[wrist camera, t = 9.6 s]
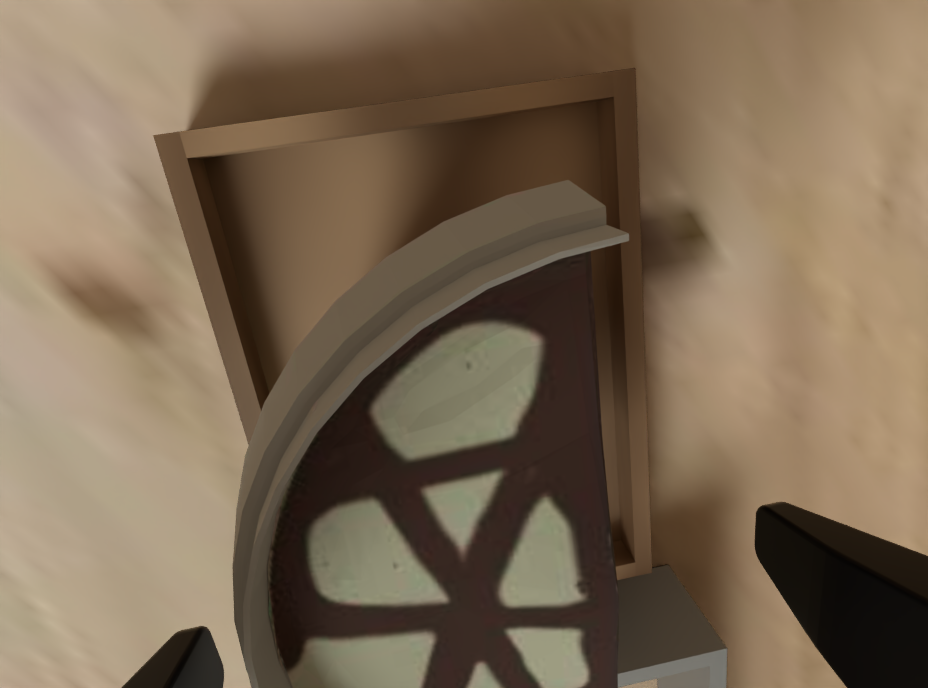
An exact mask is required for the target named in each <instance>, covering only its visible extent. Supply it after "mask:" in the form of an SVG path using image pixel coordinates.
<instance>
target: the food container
mask: <svg viewBox="0 0 928 688" xmlns="http://www.w3.org/2000/svg"><path fill="white" fill-rule="evenodd" d="M627 241H629V233H627V232H624V231H621V230H619V229H616V228H614V227H611V226H608V225H606V206H605V205H603V204H602V203H601V202H599V201H598V200H596V199H595V198H593V197H592V196H591V195H589V194H588V193H586V192H585V191H584V190H582V189H581V188H579V187H578V186H577V185H575V184H574V183H572V182H571V181H569V180H565V181H561V182H557V183H553V184H549V185H545V186H541V187H537V188H533V189H529V190H525V191H521V192H517V193H513V194H509V195H506V196H503V197H501V198H499V199H496V200H494V201H492V202H489V203H487V204H484V205H482V206H480V207H477V208H475V209H472V210H470V211H468V212H465V213H463V214H460V215H458V216H456V217H453V218H451V219H449V220H446V221H444V222H442V223H440V224H439V225H437V226H436V227H434V228H432V229H431V230H429V231H428V232H426V233H424V234H423V235H421V236H420V237H418V238H416V239H415V240H413V241H411V242H410V243H408V244H407V245H405V246H403V247H402V248H400V249H399V250H397V251H395V252H394V253H392V254H390V255H389V256H387V257H386V258H385V259H383V260H382V261H381V262H380V263H379V264H378V265H376V266H375V267H374V268H373V269H372V270H371V271H369V272H368V273H367V274H366V275H365V276H364V277H363V278H361V279H360V280H359V281H358V282H357V283H356V284H354V285H353V286H352V287H351V288H350V289H349V290H348V291H346V292H345V293H344V294H343V295H342V296H341V297H339V298H338V299H337V300H336V301H335V302H334V303H333V305H332V306H331V307H330V308H329V309H328V311H327V312H326V313H325V314H324V315H323V317H322V318H321V319H320V320H319V321H318V323H317V324H316V325H315V326H314V327H313V329H312V330H311V331H310V332H309V333H308V335H307V336H306V337H305V338H304V339H303V341H302V342H301V343H300V344H299V345H298V347H297V348H296V349H295V350H294V352H293V354H292V356H291V357H290V359H289V361H288V362H287V364H286V366H285V368H284V369H283V371H282V373H281V375H280V376H279V378H278V380H277V382H276V383H275V385H274V387H273V388H272V390H271V392H270V394H269V395H268V397H267V399H266V401H265V402H264V405H263V408H262V411H261V413H260V416H259V419H258V422H257V424H256V427H255V430H254V433H253V436H252V438H251V441H250V444H249V447H248V449H247V452H246V455H245V460H244V466H243V472H242V478H241V485H240V491H239V497H238V504H237V511H236V526H235V541H234V556H233V591H234V621H235V625H236V630H237V634H238V638H239V642H240V646H241V650H242V654H243V658H244V662H245V666H246V670H247V672H248V675H249V679H250V683H251V687H252V688H618V645H619V593H618V583H617V574H616V565H615V556H614V547H613V539H612V531H611V522H610V513H609V502H608V492H607V481H606V470H605V460H604V449H603V438H602V423H601V407H600V391H599V375H598V359H597V343H596V328H595V312H594V297H593V281H592V266H591V251H592V250H596V249H600V248H604V247H607V246H611V245H615V244H619V243H623V242H627Z"/></svg>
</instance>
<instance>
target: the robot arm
mask: <svg viewBox="0 0 928 688" xmlns="http://www.w3.org/2000/svg"><path fill="white" fill-rule="evenodd" d="M755 551H756V554H757V557H758V559H759V561H760V563H761V564H762V566H763V567H764V569H765V570H766V572H767V574H768V575H769V577H770V578H771V580H772V581H773V583H774V584H775V586H776V587H777V589H778V590H779V592H780V594H781V595H782V597H783V598H784V600H785V601H786V603H787V604H788V606H789V607H790V609H791V610H792V612H793V614H794V615H795V617H796V618H797V620H798V621H799V623H800V624H801V626H802V627H803V629H804V630H805V632H806V634H807V635H808V636H809V638H810V639H811V641H812V642H813V644H814V645H815V647H816V648H817V649H818V651H819V652H820V653H821V655H822V656H823V657H824V659H825V660H826V661H827V663H828V664H829V665H830V666H831V668H832V669H833V670H834V672H835V673H836V674H837V675H838V677H839V678H840V679H841V680H842V682H843V683H844V684H845V686H846V687H847V688H928V556H926V555H924V554H921V553H918V552H916V551H913V550H910V549H908V548H905V547H903V546H900V545H897V544H895V543H892V542H889V541H887V540H884V539H881V538H879V537H876V536H873V535H871V534H868V533H865V532H863V531H860V530H857V529H855V528H852V527H850V526H847V525H844V524H842V523H839V522H836V521H834V520H831V519H828V518H826V517H823V516H820V515H818V514H815V513H812V512H810V511H807V510H805V509H802V508H799V507H797V506H794V505H791V504H789V503H786V502H776V503H772V504H767V505H762V506H760V507H759V508H758V510H757V512H756V526H755ZM223 682H224V669H223V664H222V661H221V659H220V656H219V653H218V651H217V648H216V646H215V643H214V640H213V638H212V635H211V633H210V631H209V629H208V628H207V627H204V626H199V627H194V628H190V629H185V630H181V631H178V632H177V633H175V634H174V635H173V636H172V637H171V638H170V639H169V640H168V641H167V642H166V643H165V644H164V645H163V646H162V647H161V648H160V649H159V650H158V651H157V652H156V653H155V654H154V655H153V656H152V657H151V658H150V659H149V660H148V661H147V662H146V663H145V664H144V665H143V666H142V667H141V668H140V669H139V670H138V671H137V672H136V673H135V674H134V675H133V676H132V677H131V679H130V680H129V681H128V682H127V683H126V684H125V685H124V686H123V687H122V688H223Z"/></svg>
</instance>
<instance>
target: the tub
mask: <svg viewBox="0 0 928 688" xmlns="http://www.w3.org/2000/svg"><path fill="white" fill-rule="evenodd" d="M617 583H618V593H619V645H618V687H622V686H627V685H631V684H635V683H639V682H644V681H648V680H652V679H656V678H658V688H726V677H727V647H726V646H725V644H724V643H723V642H722V640H721V639H720V637H719V636H718V635H717V633H716V632H715V630H714V629H713V627H712V626H711V625H710V623H709V622H708V620H707V619H706V618H705V616H704V615H703V613H702V612H701V610H700V609H699V608H698V606H697V605H696V603H695V602H694V601H693V599H692V598H691V596H690V595H689V593H688V592H687V591H686V589H685V588H684V586H683V585H682V584H681V582H680V581H679V579H678V578H677V576H676V575H675V574H674V572H673V571H672V569H671V568H670V567H669V565H665V566H661V567H656V568H652V573H648V574H644V575H639V576H634V577H630V578H625V579H621V580H617Z"/></svg>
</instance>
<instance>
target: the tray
mask: <svg viewBox="0 0 928 688" xmlns="http://www.w3.org/2000/svg"><path fill="white" fill-rule="evenodd" d="M153 136H154V139H155V143H156V146H157V149H158V152H159V156H160V159H161V162H162V165H163V168H164V172H165V175H166V178H167V181H168V185H169V188H170V191H171V194H172V198H173V201H174V204H175V207H176V211H177V214H178V217H179V220H180V224H181V227H182V230H183V233H184V237H185V240H186V243H187V246H188V249H189V253H190V256H191V259H192V262H193V266H194V269H195V272H196V275H197V279H198V282H199V285H200V288H201V292H202V295H203V298H204V301H205V305H206V308H207V311H208V314H209V318H210V321H211V324H212V327H213V331H214V334H215V337H216V340H217V343H218V347H219V350H220V353H221V356H222V360H223V363H224V366H225V369H226V373H227V376H228V379H229V382H230V386H231V389H232V392H233V395H234V399H235V402H236V405H237V408H238V412H239V415H240V418H241V421H242V424H243V428H244V431H245V434H246V437H247V441H248V444H250V441H251V438H252V436H253V433H254V430H255V427H256V424H257V422H258V419H259V416H260V413H261V411H262V408H263V405H264V402H265V401H266V399H267V397H268V395H269V394H270V392H271V390H272V388H273V387H274V385H275V383H276V382H277V380H278V378H279V376H280V375H281V373H282V371H283V369H284V368H285V366H286V364H287V362H288V361H289V359H290V357H291V356H292V354H293V352H294V350H295V349H296V348H297V347H298V345H299V344H300V343H301V342H302V341H303V339H304V338H305V337H306V336H307V335H308V333H309V332H310V331H311V330H312V329H313V327H314V326H315V325H316V324H317V323H318V321H319V320H320V319H321V318H322V317H323V315H324V314H325V313H326V312H327V311H328V309H329V308H330V307H331V306H332V305H333V303H334V302H335V301H336V300H337V299H338V298H339V297H341V296H342V295H343V294H344V293H345V292H346V291H348V290H349V289H350V288H351V287H352V286H353V285H354V284H356V283H357V282H358V281H359V280H360V279H361V278H363V277H364V276H365V275H366V274H367V273H368V272H369V271H371V270H372V269H373V268H374V267H375V266H376V265H378V264H379V263H380V262H381V261H382V260H383V259H385V258H386V257H387V256H389V255H390V254H392V253H394V252H395V251H397V250H399V249H400V248H402V247H403V246H405V245H407V244H408V243H410V242H411V241H413V240H415V239H416V238H418V237H420V236H421V235H423V234H424V233H426V232H428V231H429V230H431V229H432V228H434V227H436V226H437V225H439V224H440V223H442V222H444V221H446V220H449V219H451V218H453V217H456V216H458V215H460V214H463V213H465V212H468V211H470V210H472V209H475V208H477V207H480V206H482V205H484V204H487V203H489V202H492V201H494V200H496V199H499V198H501V197H503V196H506V195H509V194H513V193H517V192H521V191H525V190H529V189H533V188H537V187H541V186H545V185H549V184H553V183H557V182H561V181H565V180H569V181H571V182H572V183H574V184H575V185H577V186H578V187H579V188H581V189H582V190H584V191H585V192H586V193H588V194H589V195H591V196H592V197H593V198H595V199H596V200H598V201H599V202H601V203H602V204H603V205H605V206H606V225H608V226H611V227H614V228H616V229H619V230H621V231H624V232H627V233H629V241H627V242H623V243H619V244H615V245H611V246H607V247H604V248H600V249H596V250H592V251H591V266H592V281H593V297H594V312H595V328H596V343H597V359H598V375H599V391H600V407H601V423H602V438H603V449H604V460H605V470H606V481H607V492H608V502H609V513H610V522H611V531H612V539H613V547H614V556H615V565H616V574H617V580H621V579H625V578H630V577H634V576H639V575H644V574H648V573H652V555H651V524H650V494H649V464H648V434H647V404H646V374H645V343H644V313H643V283H642V253H641V223H640V193H639V163H638V132H637V102H636V72H635V68H631V69H624V70H617V71H610V72H603V73H596V74H589V75H581V76H574V77H567V78H560V79H553V80H546V81H539V82H531V83H524V84H517V85H510V86H503V87H496V88H488V89H481V90H474V91H467V92H460V93H453V94H446V95H438V96H431V97H424V98H417V99H410V100H403V101H396V102H388V103H381V104H374V105H367V106H360V107H353V108H346V109H338V110H331V111H324V112H317V113H310V114H303V115H295V116H288V117H281V118H274V119H267V120H260V121H253V122H245V123H238V124H231V125H224V126H217V127H210V128H203V129H195V130H188V131H181V132H174V133H167V134H160V135H153Z"/></svg>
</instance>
